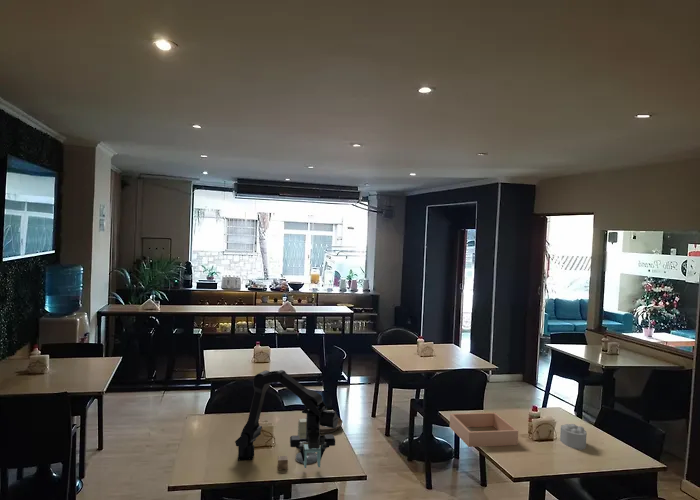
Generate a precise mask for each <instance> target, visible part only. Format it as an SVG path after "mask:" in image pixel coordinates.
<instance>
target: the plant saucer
mask: <svg viewBox="0 0 700 500" xmlns="http://www.w3.org/2000/svg"><path fill="white" fill-rule="evenodd" d="M304 419H306V417H305V418H304ZM342 424H343V419H341V418H340V417H338V424H337V426H336V428H329V427H324V426H321V425H320V434H328V433H333V432H335V431H337V430H338V429H339V428H340V427H342Z"/></svg>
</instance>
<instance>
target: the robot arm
mask: <svg viewBox="0 0 700 500" xmlns="http://www.w3.org/2000/svg"><path fill="white" fill-rule="evenodd" d="M275 382H279V383H280V384H281V385H283V387H285V388H286V389H288V391H289V392H292V394H293V395H295V396H297V397H298V398H299V399H300V401H301V403H302V405H303V406H304V407H305V408H304V409H302V411H301V413H302V414H306V417H305V418H306V438H300V437H299V435H298V434H297V435H290V436H289V446H290V447H291V448H296V449H297V450H299V452H301V455H302V459H303V461H304V447H303V443H308V448H309V449H312V448H316V449H318V448H320V449H321V459H322V457H323V455H324V452H325V451H326V450H327V448H330V447H334V446H336V437H335V435H334V434H331V433H330V434H328V433H327V434H323V435H322V434H321V433H320V425H321V426H324V427H329V428H336V426H337V424H338V418H339V416H338V414H337V410H329V409H328V407H327V405H326V403H325V401H324V400H323V396H322V395H321V394H320V393H319V392H318V391H315V390H313V389H308V388H307V387H305V386H304V385H303V384H301V383H300V382H299V381H298V380H295V379H294V378H293V377H292V376H290V375H289V374H288V373H287V372H286V371H285V370H283V369H280V370H273V371H269V370H263V371H261V372H259V373H257V374H255V375H254V377H253V390H254V394H253V397H252V401H251V406H250V411H249V415H248V419H247V422H246V423H245V425H244V426H243V428H242V429H241V430H242V431H241V432H240V437H238V438H237V439H236V440H235V441H234V443H235V446H236V447H238V452H237V453H238V454H237V455H238V456H237V461H253V459H254V457H255V445H254V442H255V441H256V440H257V438H258V437H259V436H260V435H261V432H262V429H263V426H262V425H260V423H259V422H260V417H261V412H262V409H263V405H264V400H265V395H266V392H267V391H268V389H269V388H270V386H271V383H275Z"/></svg>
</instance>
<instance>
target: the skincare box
mask: <svg viewBox="0 0 700 500" xmlns="http://www.w3.org/2000/svg"><path fill="white" fill-rule="evenodd" d="M297 424H298V426H297V435H299V437H300V438H306V419H305V418H298V423H297ZM304 444H308V443H303V448H304Z"/></svg>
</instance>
